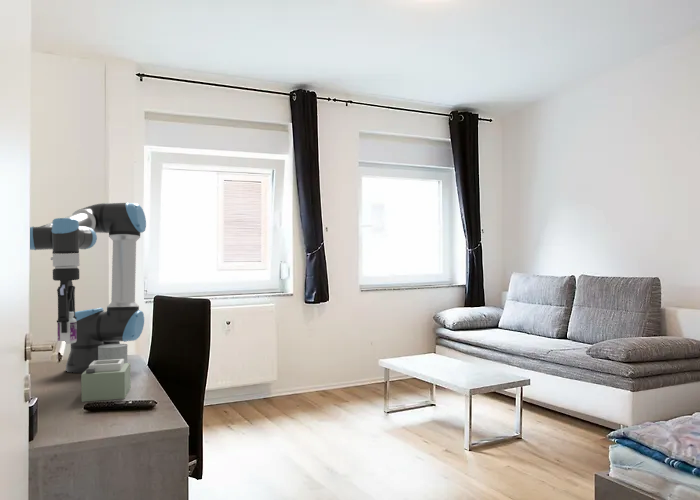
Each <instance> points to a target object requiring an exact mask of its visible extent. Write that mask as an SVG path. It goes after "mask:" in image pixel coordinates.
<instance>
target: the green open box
mask: <svg viewBox="0 0 700 500" xmlns="http://www.w3.org/2000/svg"><path fill="white" fill-rule="evenodd" d="M80 374H81V375H80V376H81V381H80V383H81V385H80V386H81V389H80V390H81V402H83V403H84V402H94V401H95V402H96V401H97V402H98V401H108V400H109V401H110V400H122V399H123V400H124V399H126V397H127V396H128V394H129V391H130V389H131V387H132V386H131V383H132V382H131V381H132V380H131V362H128V363H124V359H113V360H96V361H93V362H92V363H91V364H90V365H89V368H88V369H86V370H85V371H84V372H82V373H80Z"/></svg>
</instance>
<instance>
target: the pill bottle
mask: <svg viewBox="0 0 700 500" xmlns="http://www.w3.org/2000/svg"><path fill="white" fill-rule="evenodd" d="M73 316H74V312H69V322H70V343H66V344H65V345H68V344H69V345H71V343H75V342H76V341H77V323H76V322H77V321H76V319H75V318H73ZM58 341H60V323H57V342H58Z"/></svg>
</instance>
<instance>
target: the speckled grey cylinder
mask: <svg viewBox="0 0 700 500" xmlns="http://www.w3.org/2000/svg"><path fill="white" fill-rule="evenodd" d="M128 346H129V345H128V344H127V343H120V344H107V345H101V346H98V360H113V359H124V363H129V362H128V361H129V360H128Z"/></svg>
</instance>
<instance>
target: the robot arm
mask: <svg viewBox="0 0 700 500" xmlns="http://www.w3.org/2000/svg"><path fill="white" fill-rule="evenodd" d="M29 227H30V250H32V251H38V250H39V251H41V250H43V251H44V250H45V251H46V250H52V257H50V260H51V261H52V267H53V269H52V280H53V281H59V286H58V288H57V289H56V291H57V292H56V293H57V320H56V323H57V324H58V323H60V341H65V342H66V343H70V322H69V312H74V316H73V318H75V319H76V321H77V322H76V323H77V341H76V342H75V343H71V344H70V352H69V355H68V358H67V360H66V363H65V372H66V371H67V373H72V372H73V373H74V374H75V373H76V374H77V373H80V374H82V373H83V372H84V371H85V370H86V369H88V368H89V365H90V364H91V363H92V362H93V361H96V360H98V346H101V345H103V342H114V341H120V342H123V343H125V342H126V343H127V342H134V341H137V340H138V339H139V338H140V337H141V335H142V333H143V330H144V326H145V315H144V312H143V311H142V310H140V306H139V305H138V303H136V269H137V266H136V265H137V263H136V262H137V261H136V260H137V259H136V258H137V241H138V240H140V238H141V233H144V232H145V231H146V228H147V220H146V215H145V211H144V209H143V207H142V206H141V205H140V204H139V203H137V202H136V203H135V202H116V203H115V202H114V203H113V202H112V203H110V202H109V203H108V202H107V203H105V202H103V203H96V204H92V205H89V206H85V207H83V208H81V209H77V210H75V211H74V212H73V213H72V214H71V215H69V216H66V217H61V218H60V217H57V218H53V220H52V222H50V223H46V224H43V225H41V226H29ZM97 233H99V234H101V233H102V234H103V233H104V234H108V237H109V239H111V241H112V256H111V257H112V258H111V259H112V262H111V264H112V265H111V269H112V270H111V295H110V296H111V298H110V299H111V300H110V301H111V302H110V303H109V304H108V305H107V306H106V310H105V311H104V308H103V307H98V308H90V309H85V310H84V309H83V310H78V311H76V304H75V303H76V299H75V298H76V297H75V294H76V293H75V292H76V291H75V290H76V286H75V285H73V281H78V280H80V268H79V266H80V250H87V249H90V248H91V249H92V247H94V246H95V245H96V243H97V240H98V236H97ZM30 250H29V251H30Z"/></svg>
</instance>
